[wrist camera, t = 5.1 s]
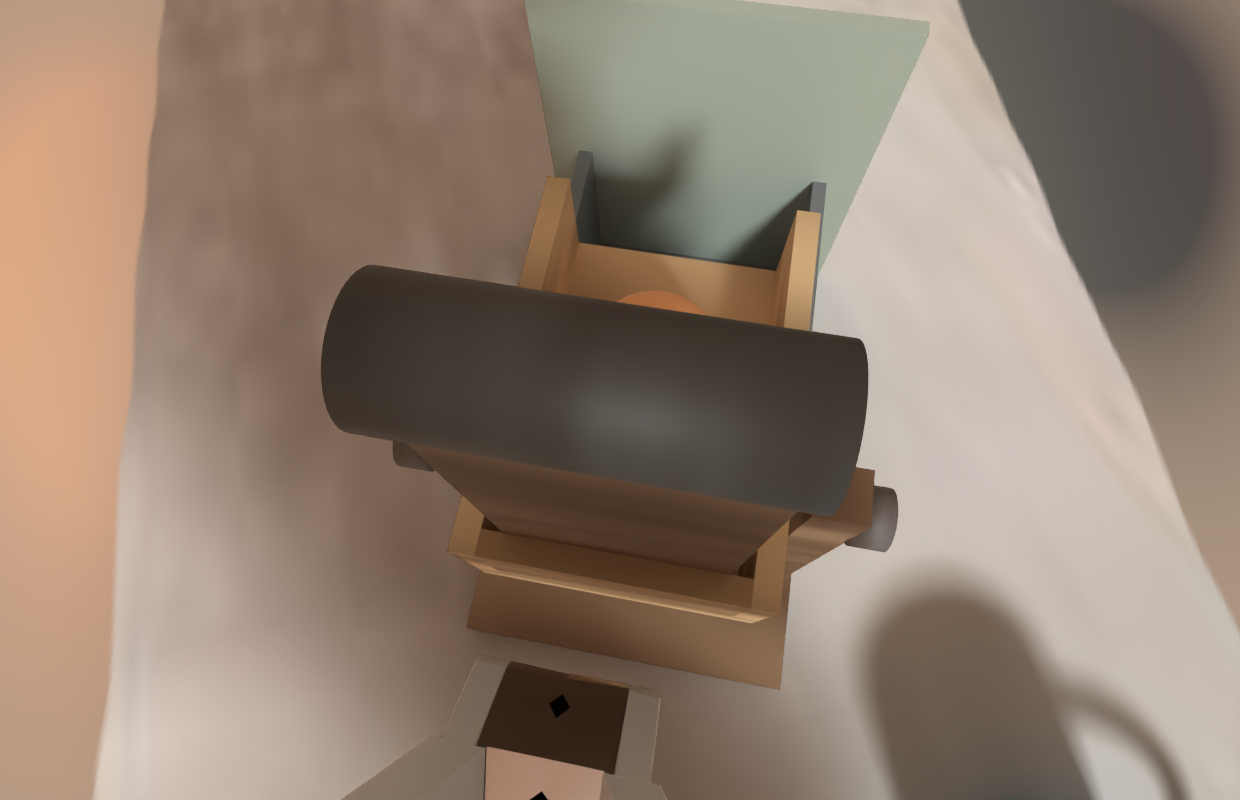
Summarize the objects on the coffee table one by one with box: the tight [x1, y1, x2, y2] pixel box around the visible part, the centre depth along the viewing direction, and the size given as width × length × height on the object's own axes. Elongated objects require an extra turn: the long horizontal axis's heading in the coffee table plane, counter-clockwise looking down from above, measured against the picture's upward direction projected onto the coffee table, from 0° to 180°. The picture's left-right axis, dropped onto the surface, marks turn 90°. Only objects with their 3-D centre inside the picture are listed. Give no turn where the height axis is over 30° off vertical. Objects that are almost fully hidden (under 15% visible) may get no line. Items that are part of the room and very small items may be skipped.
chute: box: [321, 176, 868, 623], centre depth 15 cm, size 10×9×15 cm
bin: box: [524, 0, 930, 331], centre depth 30 cm, size 11×14×16 cm
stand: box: [393, 441, 898, 690], centre depth 26 cm, size 10×14×16 cm
